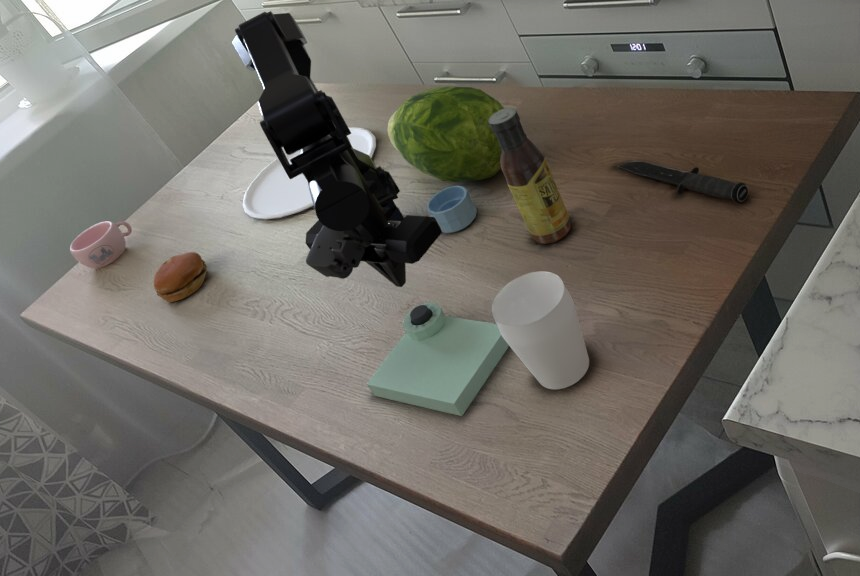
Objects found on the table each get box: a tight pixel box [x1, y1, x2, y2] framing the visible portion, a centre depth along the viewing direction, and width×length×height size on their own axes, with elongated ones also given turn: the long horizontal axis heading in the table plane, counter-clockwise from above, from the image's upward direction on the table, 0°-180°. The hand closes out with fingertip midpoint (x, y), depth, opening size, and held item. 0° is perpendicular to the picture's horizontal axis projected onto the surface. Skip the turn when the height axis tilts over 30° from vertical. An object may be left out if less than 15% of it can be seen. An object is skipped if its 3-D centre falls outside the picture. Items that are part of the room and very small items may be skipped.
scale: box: [366, 301, 510, 417], centre depth 109 cm, size 15×14×4 cm
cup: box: [490, 270, 590, 390], centre depth 98 cm, size 9×9×12 cm
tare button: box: [410, 304, 432, 326], centre depth 112 cm, size 3×3×1 cm
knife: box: [616, 160, 749, 204], centre depth 121 cm, size 24×5×3 cm, turn 35°
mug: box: [69, 220, 133, 270], centre depth 171 cm, size 12×10×6 cm
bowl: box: [426, 185, 478, 234], centre depth 133 cm, size 7×7×4 cm
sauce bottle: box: [489, 107, 572, 245], centre depth 117 cm, size 7×6×20 cm
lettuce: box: [387, 86, 505, 183], centre depth 142 cm, size 15×27×16 cm, turn 52°
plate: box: [242, 126, 377, 220], centre depth 167 cm, size 29×29×1 cm
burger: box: [152, 251, 208, 303], centre depth 150 cm, size 10×9×5 cm
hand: (401, 284), depth 109 cm, fingers closed
